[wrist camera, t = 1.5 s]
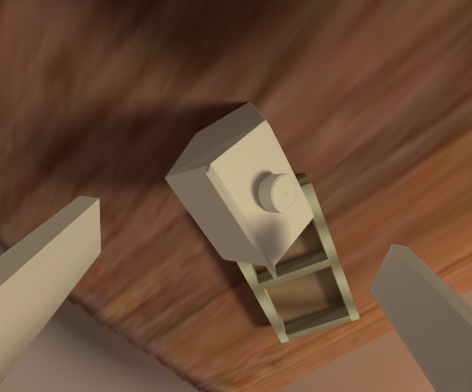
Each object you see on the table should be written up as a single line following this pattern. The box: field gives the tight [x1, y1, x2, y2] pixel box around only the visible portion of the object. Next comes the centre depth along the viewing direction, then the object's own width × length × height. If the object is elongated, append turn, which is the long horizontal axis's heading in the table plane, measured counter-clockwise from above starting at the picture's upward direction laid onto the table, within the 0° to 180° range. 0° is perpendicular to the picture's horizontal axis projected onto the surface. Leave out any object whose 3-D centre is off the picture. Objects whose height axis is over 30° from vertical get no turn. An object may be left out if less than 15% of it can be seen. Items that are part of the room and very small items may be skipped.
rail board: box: [236, 173, 360, 343], centre depth 36 cm, size 23×12×3 cm, turn 25°
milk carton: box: [165, 102, 313, 279], centre depth 22 cm, size 7×7×19 cm
